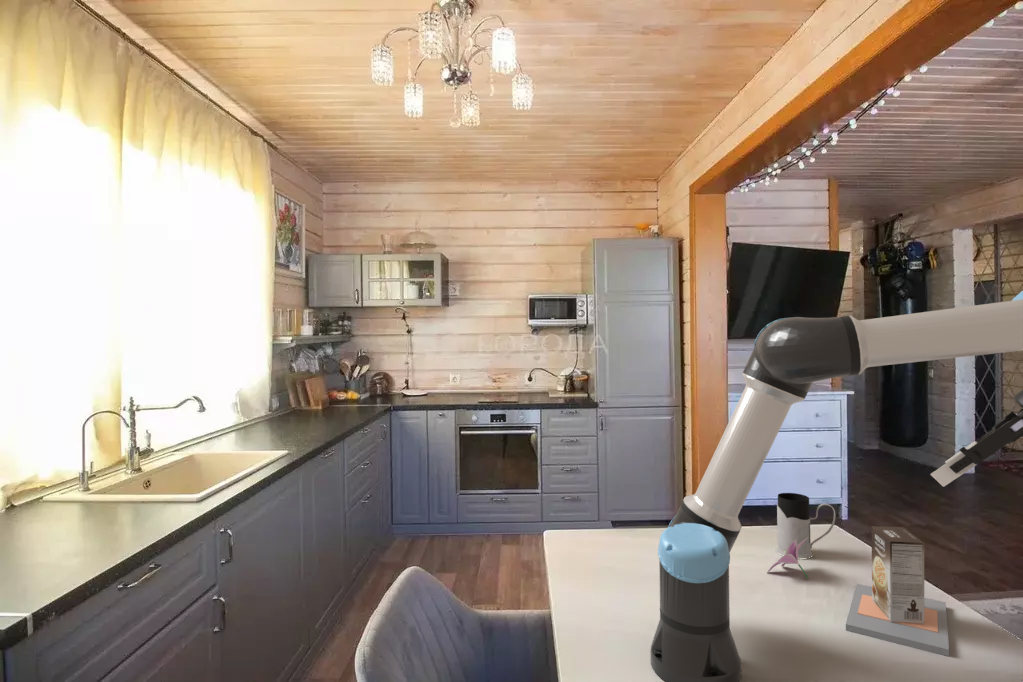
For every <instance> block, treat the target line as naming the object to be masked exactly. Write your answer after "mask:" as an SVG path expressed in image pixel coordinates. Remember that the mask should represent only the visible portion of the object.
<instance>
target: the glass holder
mask: <svg viewBox="0 0 1023 682" xmlns="http://www.w3.org/2000/svg"><path fill="white" fill-rule="evenodd" d="M823 506H828V507H830V508H831V509H832V511H833V520H832V523H831V525H830V527H829V529H828V530H827V531H826V532H825V533H823V534H821V536H819V537H818V538H816V539H814V540H813V541H812V542H811V521H812V520H813V521H814V520H816V519H817V518H818V516H819V510H820V508H821V507H823ZM776 509H777V510H776V513H777V514H776V515H777V516H776V520H777V521H776V524H777V533H776V534H777V546H776V549H775V552H776V551H777V552H778V553H780V554H782V555H786V554H785V553H786V550H787V548H788V547H789V545H790V544H791V543H792V542H793V541H794V540H795V539H796V542H797V546H798V545H799V544H800V543H801V542H802V541H803V540H805V539H806V538H807V539H806V540H805V541H804V542H803V544H802V545H801V547H800V548H799V550H798V558H809V557H811V556H812V555H813V553H812V551H811V550H812V548H813V545H814V544H816V542H819V541H820V540H821V539H823V538H824V537H825V536H827V535H828V534H829V533H831V531H832V529H833V528H834V526H835V522H836V510H835V508H834V506H832V504H828V503H821V504H819V505H818V506H817V508H816V509H815V517H811V516H810V497H809V496H807V495H804V494H801V493H795V492H781V493H778V494H777V504H776ZM784 549H785V550H784ZM783 550H784V551H785V553H784V551H783ZM782 551H783V552H782ZM777 552H776V553H777ZM778 553H777V554H778ZM812 557H813V556H812Z"/></svg>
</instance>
